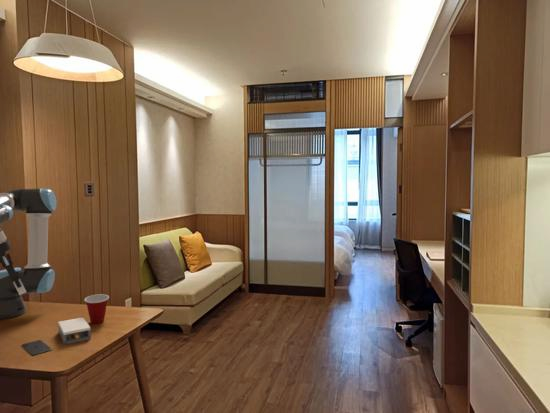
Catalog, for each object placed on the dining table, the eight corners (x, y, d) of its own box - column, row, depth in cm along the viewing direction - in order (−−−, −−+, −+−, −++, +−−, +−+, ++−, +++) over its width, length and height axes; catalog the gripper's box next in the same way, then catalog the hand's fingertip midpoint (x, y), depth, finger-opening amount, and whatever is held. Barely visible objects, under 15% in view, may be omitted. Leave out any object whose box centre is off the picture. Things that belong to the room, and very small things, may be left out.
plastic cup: (83, 327, 174) (83, 301, 173) (86, 319, 184) (85, 295, 183) (108, 324, 178) (108, 299, 177) (110, 316, 188) (109, 293, 187)
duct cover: (58, 323, 166) (58, 321, 166) (83, 319, 172) (83, 317, 172) (63, 335, 154) (63, 332, 154) (90, 329, 160) (90, 327, 160)
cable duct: (58, 332, 166) (58, 324, 166) (83, 327, 173) (83, 319, 172) (64, 344, 154) (63, 335, 154) (90, 338, 160) (90, 329, 160)
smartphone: (31, 355, 143) (20, 344, 153) (31, 357, 143) (20, 346, 153) (53, 348, 149) (40, 338, 158) (53, 351, 149) (40, 340, 158)
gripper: (-15, 245, 154) (11, 294, 161) (-14, 250, 144) (14, 301, 151) (5, 237, 158) (30, 285, 165) (8, 241, 148) (34, 292, 155)
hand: (22, 293), depth 158 cm, fingers closed
